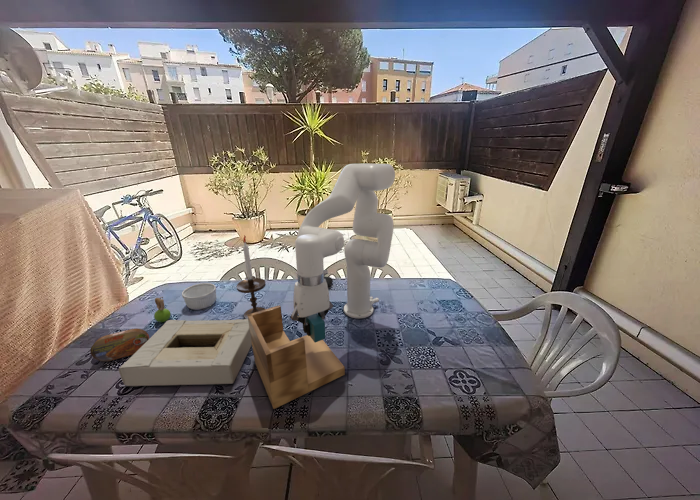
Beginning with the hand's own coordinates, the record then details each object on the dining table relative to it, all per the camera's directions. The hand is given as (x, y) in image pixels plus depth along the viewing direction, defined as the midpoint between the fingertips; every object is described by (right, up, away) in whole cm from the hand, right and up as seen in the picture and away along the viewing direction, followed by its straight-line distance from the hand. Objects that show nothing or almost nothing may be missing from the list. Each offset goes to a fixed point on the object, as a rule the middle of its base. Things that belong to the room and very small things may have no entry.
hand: (313, 330), depth 84 cm
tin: (-64, -10, +7) cm, 66 cm away
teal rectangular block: (0, -1, 0) cm, 1 cm away
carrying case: (-5, +7, +53) cm, 54 cm away
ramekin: (-55, +1, +37) cm, 66 cm away
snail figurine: (-63, -4, +25) cm, 68 cm away
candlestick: (-28, -2, +29) cm, 40 cm away
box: (-39, -11, +6) cm, 41 cm away
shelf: (-5, -12, +1) cm, 13 cm away
